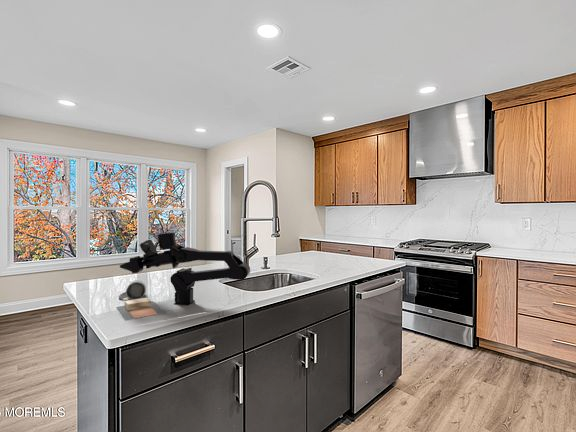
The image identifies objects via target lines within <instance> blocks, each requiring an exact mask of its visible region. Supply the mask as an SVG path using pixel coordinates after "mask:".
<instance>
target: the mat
mask: <svg viewBox="0 0 576 432" xmlns="http://www.w3.org/2000/svg"><path fill="white" fill-rule="evenodd" d="M115 307H116V310H117V311H118V312H119V314H120V315H121V317H122V318H123V320H124V321H125V322H126V321H131V320H135V319H141V318H146V317H151V316H152V317H153V316H158V315H162V314H167V312H166V311H165V310H164V309H163V308H161V306H159V305H158V304H157V303H156V301H154V300H153V301H152V300H151V307H147V308H141V309H134V310H128V311H127V309H126V308H125V305H119V306H115Z"/></svg>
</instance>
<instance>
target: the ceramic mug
mask: <svg viewBox="0 0 576 432" xmlns="http://www.w3.org/2000/svg"><path fill="white" fill-rule="evenodd" d="M146 291H147V289H146V285H145V283H144V282H143V281H142V280H139V279H138V280H133V281H131V282H130V283H128V286H127V288H126V289H125V291H124V292H123V293H120V295H118V299H120V300H123V299H127V298H128V299H129V300H134V299H136V298H137V299H141V298H144V296H145V295H146Z"/></svg>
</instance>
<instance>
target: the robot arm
mask: <svg viewBox="0 0 576 432" xmlns="http://www.w3.org/2000/svg"><path fill="white" fill-rule="evenodd" d="M156 236H157V241H158V247H159V249H160V250H157V247H156V246H155V244H154V243H153V242H154V241H152V239H147V240H145V241H143V242H141V243H140V244H139V247H140V249H141V250H142V252H143V256H142V257H141V256H140V255H137V256H133V257H130V258H129V261H128V262H124V263H122V264H120V265H119V268H120V269H123V270H125V271H129V272H131V273H132V274H138V273H141V272H142V271H143V270H144V267H145V268H146V270H147V269H151V268H153V267H155V268H158V267H161V266H166V265H171V266H172V269H176V268H177V267H179V264H183V263H184V264H185V263H191V262H194V261H195V262H196V261H210V262H224V263H225V264H227V266H228V267H226V268H225V267H224V268H217V269H207V270H206V269H205V270H199V271H196V270H192V267H188V268H184V267H183V268H180V269H179V270H176V272H174V273H173V274H171V276H170V283H171V285H172V286H173V289H174V291H175V292H174V303H173V305H176V306H177V305H178V306H190V305H191V304H193V303H194V302H195V301H196V300H194V286H195V284H196V282H203V281H211V280H213V281H214V280H220V279H229V280H238V281H242V280H245V279H246V278H247V277H248V276H249V275H250V273H251V266H250V265H249V264H248V263H246V262H243V260H242V259H241V258H240V257H238V256H237V255H236V254H234V252H233V251H231V250H227V251H225V250H223V251H222V250H199V249H196V248H194V247H187V246H186V247H185V246H183V245H181V244H179V243H177V241H176V233H175V232H164V233H159V234H157V235H156Z"/></svg>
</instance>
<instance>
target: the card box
mask: <svg viewBox="0 0 576 432" xmlns="http://www.w3.org/2000/svg"><path fill="white" fill-rule="evenodd" d="M151 301H152V299H150V298H149V297H142V298H141V299H138V298H134V299H133V300H131V299H129V300H124V306H125V308H126V309H127V311H128V310H134V309H141V308H147V307H151Z"/></svg>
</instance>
